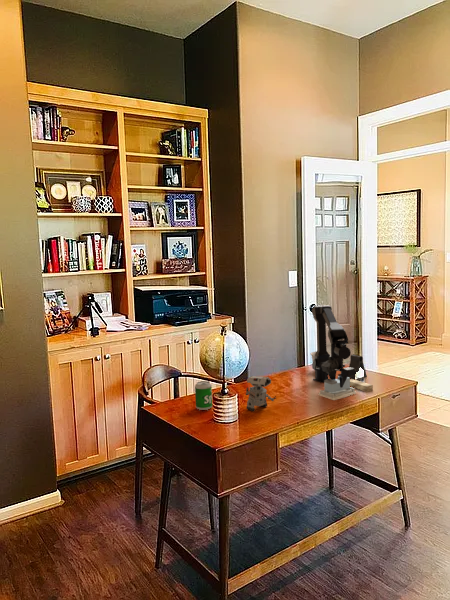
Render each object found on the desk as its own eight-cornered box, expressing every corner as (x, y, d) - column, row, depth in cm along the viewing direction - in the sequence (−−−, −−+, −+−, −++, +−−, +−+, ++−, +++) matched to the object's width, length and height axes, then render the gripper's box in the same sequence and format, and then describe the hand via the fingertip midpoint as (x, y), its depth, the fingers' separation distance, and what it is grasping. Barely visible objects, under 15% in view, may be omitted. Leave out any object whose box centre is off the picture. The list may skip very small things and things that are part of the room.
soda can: (200, 412, 219) (198, 386, 217) (193, 407, 225) (192, 382, 224) (215, 409, 222) (214, 383, 220) (208, 404, 229) (207, 379, 227)
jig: (333, 400, 228) (333, 395, 228) (318, 395, 236) (318, 390, 236) (356, 393, 236) (356, 388, 236) (340, 389, 244) (340, 384, 244)
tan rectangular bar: (345, 385, 250) (345, 380, 250) (351, 384, 253) (351, 378, 252) (367, 392, 239) (367, 386, 238) (372, 390, 241) (372, 385, 240)
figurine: (262, 415, 212) (261, 381, 211) (244, 409, 221) (243, 376, 219) (276, 409, 218) (276, 377, 216) (258, 404, 227) (257, 372, 225)
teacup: (323, 376, 268) (323, 358, 267) (306, 370, 281) (305, 353, 280) (340, 372, 274) (340, 354, 273) (322, 366, 287) (322, 350, 286)
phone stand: (358, 374, 268) (357, 353, 267) (366, 377, 263) (366, 355, 262) (346, 377, 263) (346, 355, 262) (355, 380, 259) (355, 357, 257)
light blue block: (342, 385, 241) (342, 375, 240) (350, 387, 237) (349, 377, 236) (324, 390, 235) (324, 380, 234) (332, 392, 230) (331, 382, 230)
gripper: (310, 353, 237) (311, 385, 239) (339, 360, 222) (339, 394, 224) (327, 349, 243) (327, 380, 245) (356, 356, 228) (356, 389, 230)
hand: (337, 386), depth 236 cm, fingers closed on light blue block, 5 cm apart
